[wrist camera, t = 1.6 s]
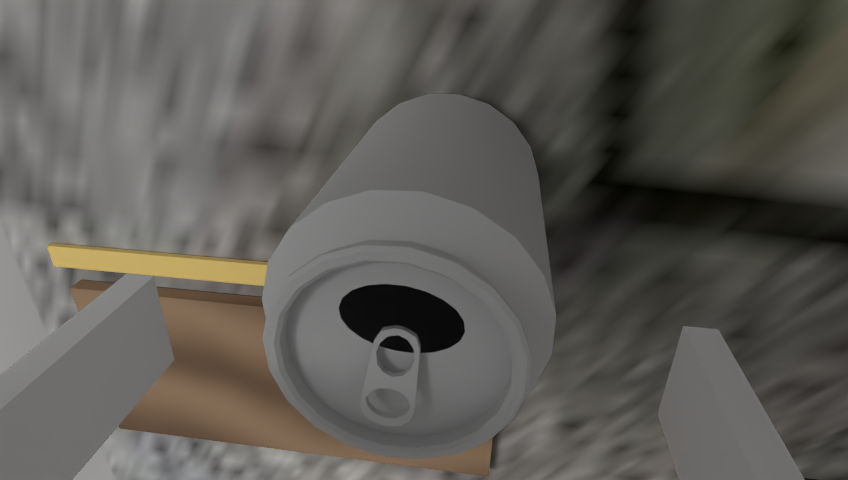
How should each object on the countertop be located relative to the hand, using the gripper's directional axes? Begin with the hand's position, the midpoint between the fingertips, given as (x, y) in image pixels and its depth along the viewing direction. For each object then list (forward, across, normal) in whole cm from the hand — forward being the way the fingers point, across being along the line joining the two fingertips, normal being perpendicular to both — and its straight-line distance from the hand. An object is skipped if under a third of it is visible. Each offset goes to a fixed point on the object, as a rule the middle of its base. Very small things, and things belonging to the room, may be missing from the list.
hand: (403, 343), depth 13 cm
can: (+11, 0, +1) cm, 11 cm away
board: (+11, -8, -12) cm, 18 cm away
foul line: (+11, -8, -5) cm, 14 cm away
